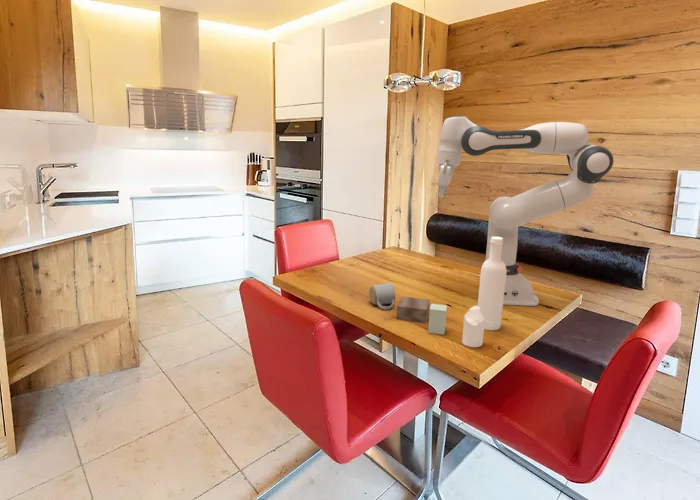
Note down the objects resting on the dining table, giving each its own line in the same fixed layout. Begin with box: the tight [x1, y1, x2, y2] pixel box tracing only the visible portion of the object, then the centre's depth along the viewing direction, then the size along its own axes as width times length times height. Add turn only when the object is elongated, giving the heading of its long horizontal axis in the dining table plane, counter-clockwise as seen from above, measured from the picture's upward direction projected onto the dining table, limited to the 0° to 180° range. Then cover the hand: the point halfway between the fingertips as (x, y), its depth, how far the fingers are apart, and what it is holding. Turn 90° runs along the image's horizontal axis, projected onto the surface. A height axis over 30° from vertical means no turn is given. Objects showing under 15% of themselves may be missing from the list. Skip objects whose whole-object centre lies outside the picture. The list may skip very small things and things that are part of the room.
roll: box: [461, 304, 485, 348], centre depth 127 cm, size 6×12×6 cm
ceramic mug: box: [368, 282, 396, 311], centre depth 157 cm, size 11×8×8 cm
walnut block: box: [396, 296, 431, 324], centre depth 149 cm, size 10×10×5 cm
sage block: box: [427, 303, 448, 336], centre depth 136 cm, size 5×5×8 cm
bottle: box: [477, 237, 507, 331], centre depth 138 cm, size 8×8×30 cm
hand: (442, 195), depth 166 cm, fingers open, 8 cm apart
